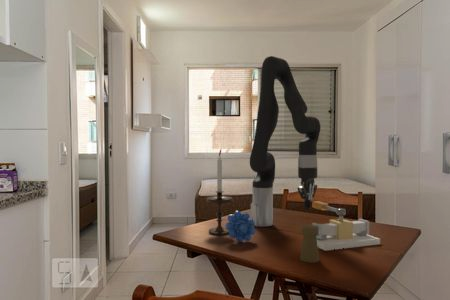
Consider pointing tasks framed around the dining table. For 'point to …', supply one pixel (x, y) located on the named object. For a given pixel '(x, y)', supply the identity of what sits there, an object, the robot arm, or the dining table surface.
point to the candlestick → (219, 201)
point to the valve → (344, 234)
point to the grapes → (240, 226)
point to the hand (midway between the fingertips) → (307, 209)
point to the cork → (309, 244)
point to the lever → (328, 207)
